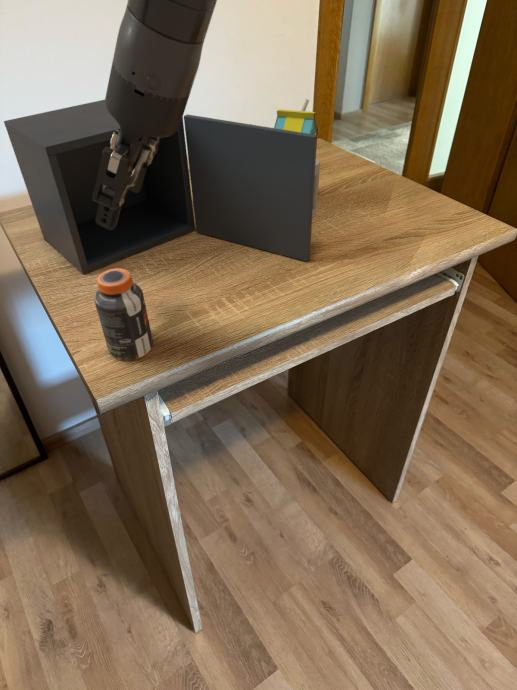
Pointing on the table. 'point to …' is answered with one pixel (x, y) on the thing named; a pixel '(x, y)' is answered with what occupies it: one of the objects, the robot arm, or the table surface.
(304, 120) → the carton
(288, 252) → the cupboard door
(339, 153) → the table surface
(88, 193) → the cupboard
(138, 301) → the pill bottle
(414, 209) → the table surface
